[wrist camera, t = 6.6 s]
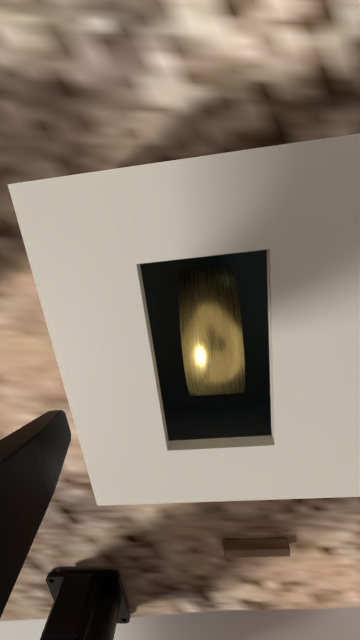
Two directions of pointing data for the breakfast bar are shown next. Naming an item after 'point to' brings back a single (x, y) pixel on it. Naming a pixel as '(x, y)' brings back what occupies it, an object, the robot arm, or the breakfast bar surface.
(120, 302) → the box
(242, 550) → the coin stand
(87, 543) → the breakfast bar surface
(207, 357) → the coin
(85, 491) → the breakfast bar surface
